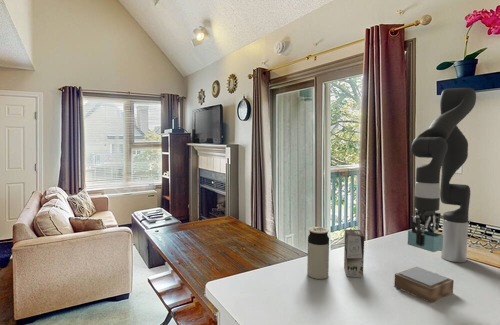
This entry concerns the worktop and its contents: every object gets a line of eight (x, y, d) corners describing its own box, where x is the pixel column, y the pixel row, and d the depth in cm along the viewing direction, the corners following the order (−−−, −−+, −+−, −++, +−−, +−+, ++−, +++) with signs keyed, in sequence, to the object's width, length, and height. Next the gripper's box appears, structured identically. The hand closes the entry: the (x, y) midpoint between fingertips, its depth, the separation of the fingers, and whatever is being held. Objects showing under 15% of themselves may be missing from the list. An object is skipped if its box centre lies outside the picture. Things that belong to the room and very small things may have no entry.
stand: (416, 278, 116) (416, 265, 115) (452, 292, 104) (453, 278, 104) (394, 286, 109) (394, 272, 109) (431, 302, 98) (431, 287, 98)
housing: (442, 249, 103) (443, 234, 103) (433, 252, 101) (434, 237, 100) (416, 241, 111) (417, 228, 111) (407, 244, 108) (408, 230, 108)
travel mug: (332, 274, 118) (333, 229, 117) (321, 281, 113) (322, 233, 111) (314, 269, 124) (314, 225, 123) (303, 275, 118) (304, 229, 117)
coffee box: (363, 278, 116) (364, 236, 115) (346, 276, 117) (347, 235, 116) (360, 268, 125) (361, 229, 124) (343, 267, 126) (344, 228, 125)
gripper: (425, 199, 98) (423, 250, 99) (449, 195, 105) (447, 243, 106) (403, 195, 104) (402, 244, 105) (428, 192, 111) (426, 237, 113)
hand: (425, 243), depth 106 cm, fingers closed on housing, 5 cm apart
